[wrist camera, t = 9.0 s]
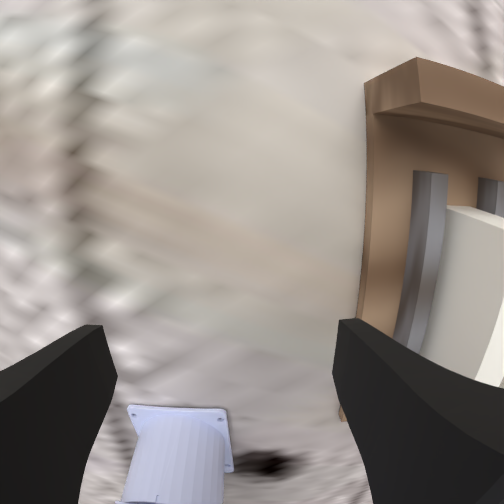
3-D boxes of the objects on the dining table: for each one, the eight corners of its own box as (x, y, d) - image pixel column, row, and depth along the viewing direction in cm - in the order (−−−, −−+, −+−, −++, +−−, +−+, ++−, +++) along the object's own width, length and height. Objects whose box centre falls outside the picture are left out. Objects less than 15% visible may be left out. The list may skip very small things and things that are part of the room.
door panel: (453, 337, 19) (503, 390, 13) (412, 345, 19) (460, 409, 12) (479, 206, 16) (554, 234, 10) (436, 204, 16) (516, 234, 9)
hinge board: (453, 386, 22) (483, 427, 17) (338, 413, 22) (357, 469, 16) (501, 115, 15) (559, 115, 9) (364, 83, 15) (416, 57, 9)
